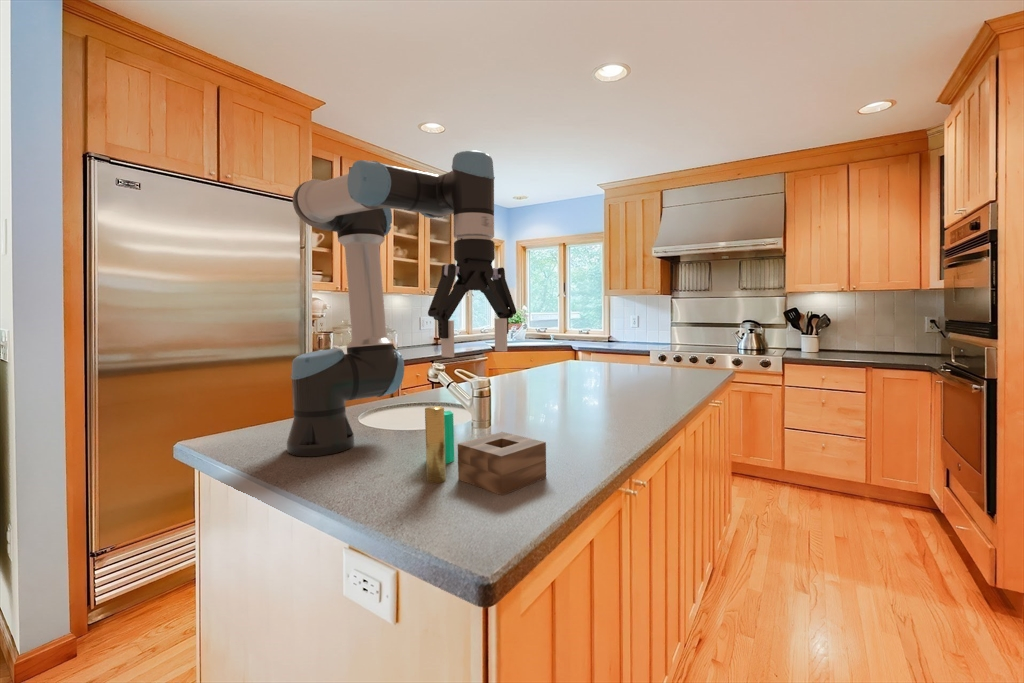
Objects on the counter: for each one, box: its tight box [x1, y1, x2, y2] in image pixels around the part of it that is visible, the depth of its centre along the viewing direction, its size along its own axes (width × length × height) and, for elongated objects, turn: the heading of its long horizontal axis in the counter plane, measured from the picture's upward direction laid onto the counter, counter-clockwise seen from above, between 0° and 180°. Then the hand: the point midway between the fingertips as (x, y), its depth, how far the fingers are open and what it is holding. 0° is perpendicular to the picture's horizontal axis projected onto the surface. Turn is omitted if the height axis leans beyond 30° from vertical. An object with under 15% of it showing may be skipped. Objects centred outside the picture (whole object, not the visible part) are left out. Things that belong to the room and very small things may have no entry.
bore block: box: [457, 431, 547, 496], centre depth 93 cm, size 12×12×7 cm
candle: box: [438, 405, 455, 465], centre depth 106 cm, size 6×6×12 cm
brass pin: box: [424, 405, 447, 484], centre depth 93 cm, size 4×4×14 cm
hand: (475, 354), depth 91 cm, fingers open, 13 cm apart
